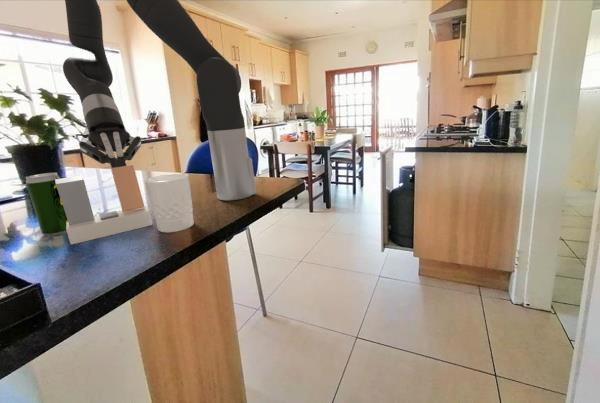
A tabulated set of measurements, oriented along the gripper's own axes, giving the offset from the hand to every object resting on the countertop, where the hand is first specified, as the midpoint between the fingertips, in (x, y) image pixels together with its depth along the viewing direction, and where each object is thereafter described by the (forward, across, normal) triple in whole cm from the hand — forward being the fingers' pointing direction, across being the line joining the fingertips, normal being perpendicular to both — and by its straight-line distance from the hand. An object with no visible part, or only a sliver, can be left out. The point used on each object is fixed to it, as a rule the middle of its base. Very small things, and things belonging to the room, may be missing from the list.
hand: (121, 173), depth 69 cm
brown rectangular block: (+10, 0, -1) cm, 10 cm away
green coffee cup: (+7, -14, +7) cm, 17 cm away
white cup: (+18, +6, -4) cm, 20 cm away
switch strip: (+13, -4, +1) cm, 13 cm away
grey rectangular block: (+10, -9, -1) cm, 14 cm away
